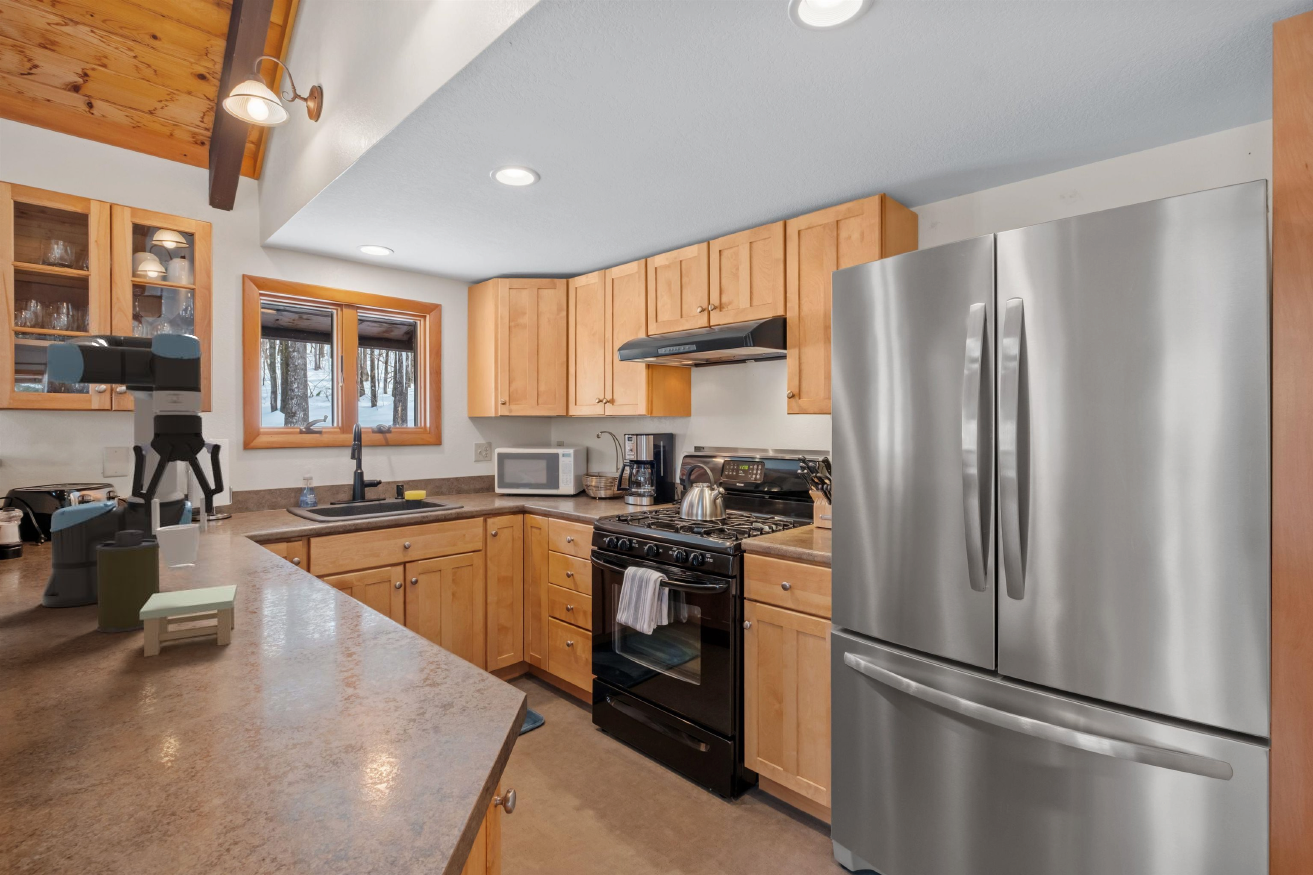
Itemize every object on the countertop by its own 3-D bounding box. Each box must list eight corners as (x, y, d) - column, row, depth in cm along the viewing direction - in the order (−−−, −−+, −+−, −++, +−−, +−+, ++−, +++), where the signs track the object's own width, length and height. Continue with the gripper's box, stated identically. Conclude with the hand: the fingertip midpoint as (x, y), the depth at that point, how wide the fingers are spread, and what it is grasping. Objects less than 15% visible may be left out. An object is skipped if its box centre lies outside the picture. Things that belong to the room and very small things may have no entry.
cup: (158, 574, 115) (155, 531, 115) (156, 566, 123) (153, 526, 123) (204, 567, 120) (202, 526, 120) (199, 560, 128) (197, 521, 127)
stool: (153, 635, 125) (153, 593, 125) (237, 624, 132) (237, 584, 132) (140, 657, 113) (139, 611, 113) (233, 643, 120) (232, 600, 120)
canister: (173, 617, 137) (172, 527, 136) (129, 633, 126) (127, 535, 126) (128, 616, 138) (127, 526, 138) (81, 632, 128) (79, 535, 127)
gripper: (106, 413, 113) (109, 539, 113) (237, 413, 123) (239, 529, 123) (117, 414, 120) (119, 533, 120) (240, 414, 129) (242, 524, 130)
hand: (180, 531), depth 122 cm, fingers closed on cup, 7 cm apart
